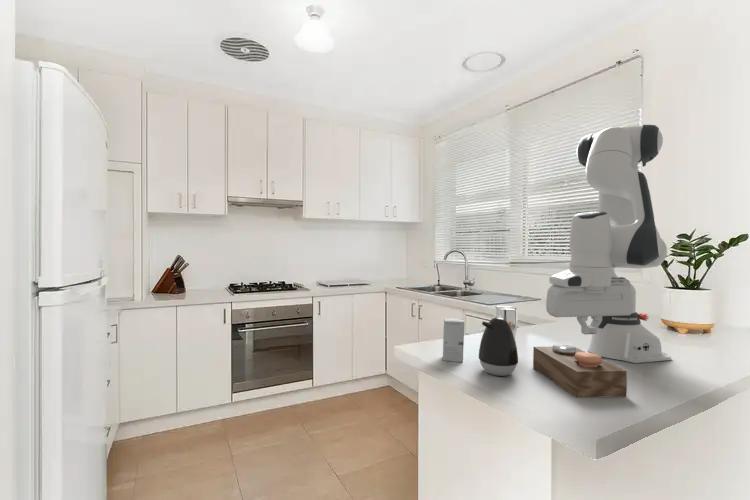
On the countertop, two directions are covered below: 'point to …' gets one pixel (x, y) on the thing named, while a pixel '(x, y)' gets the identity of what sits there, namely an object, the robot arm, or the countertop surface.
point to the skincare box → (453, 339)
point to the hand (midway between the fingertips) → (589, 333)
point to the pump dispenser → (498, 348)
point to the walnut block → (580, 374)
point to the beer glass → (508, 316)
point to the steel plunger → (564, 349)
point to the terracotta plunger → (588, 359)
